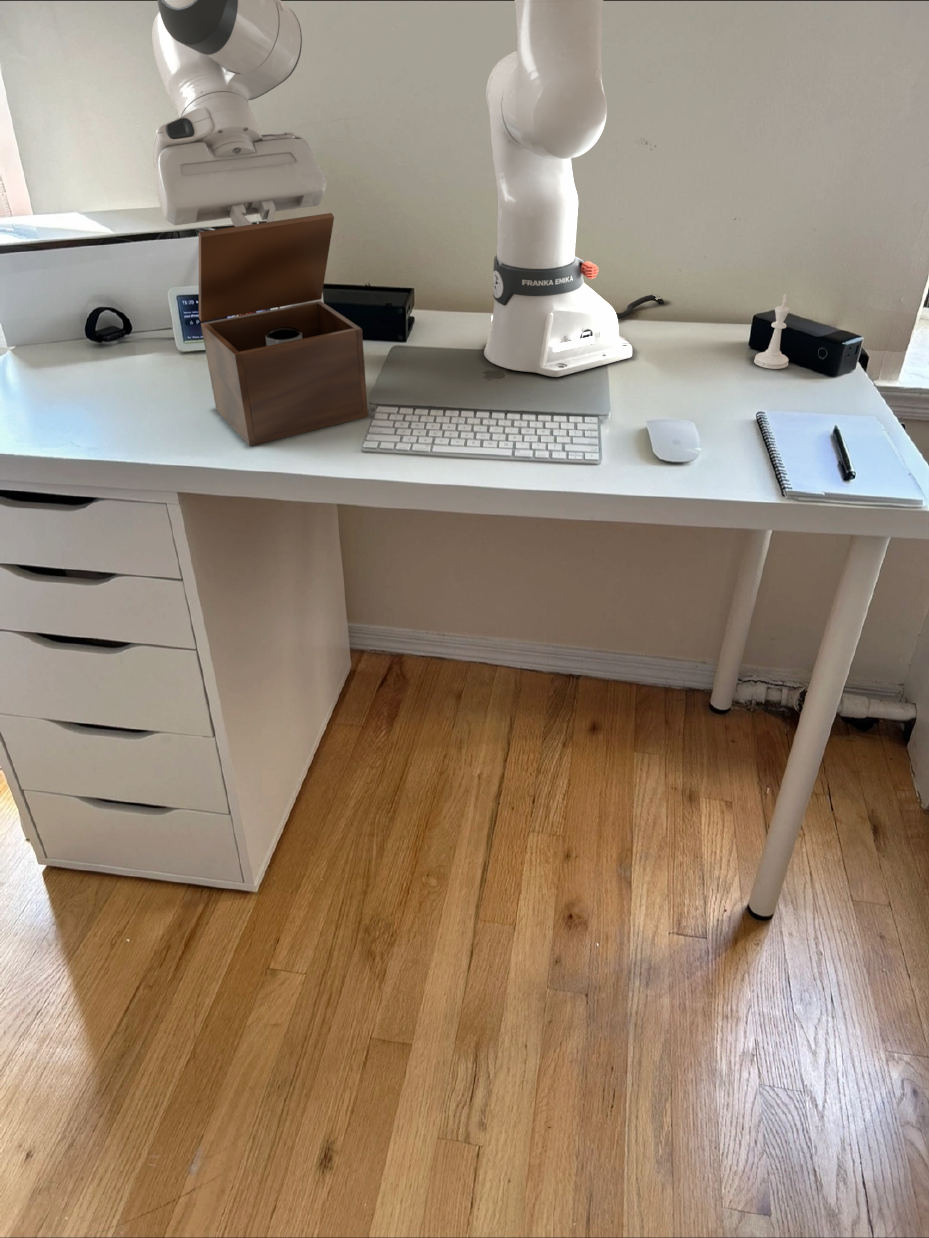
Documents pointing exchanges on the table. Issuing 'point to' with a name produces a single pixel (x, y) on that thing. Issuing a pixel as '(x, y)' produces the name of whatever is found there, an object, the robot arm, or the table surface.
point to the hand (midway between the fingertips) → (264, 243)
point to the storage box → (286, 372)
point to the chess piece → (775, 342)
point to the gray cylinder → (282, 335)
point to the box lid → (262, 265)
